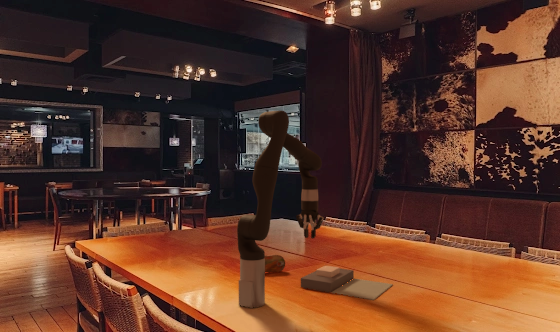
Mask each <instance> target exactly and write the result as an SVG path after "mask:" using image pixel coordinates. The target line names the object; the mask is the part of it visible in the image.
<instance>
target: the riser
mask: <svg viewBox="0 0 560 332" xmlns="http://www.w3.org/2000/svg"><path fill="white" fill-rule="evenodd" d="M354 271H355V270H353V269H347V268H340V273H339V274H337V275H335V276H333V277H324V276H318V275H316V270H315V271H312V272H311V273H308V274H306V275H305V276H302V277H300V288H301V287H303V289H307V288H308V290H312V289H313V291H319V292H324V291H325V292H324V293H329V292H330V293H331V294H332V292H333V291H334V290H336V289H338V288H339V287H341V286H342V285H344V284H346V283H347V282H349V281H350V280H352V279H354Z"/></svg>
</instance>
